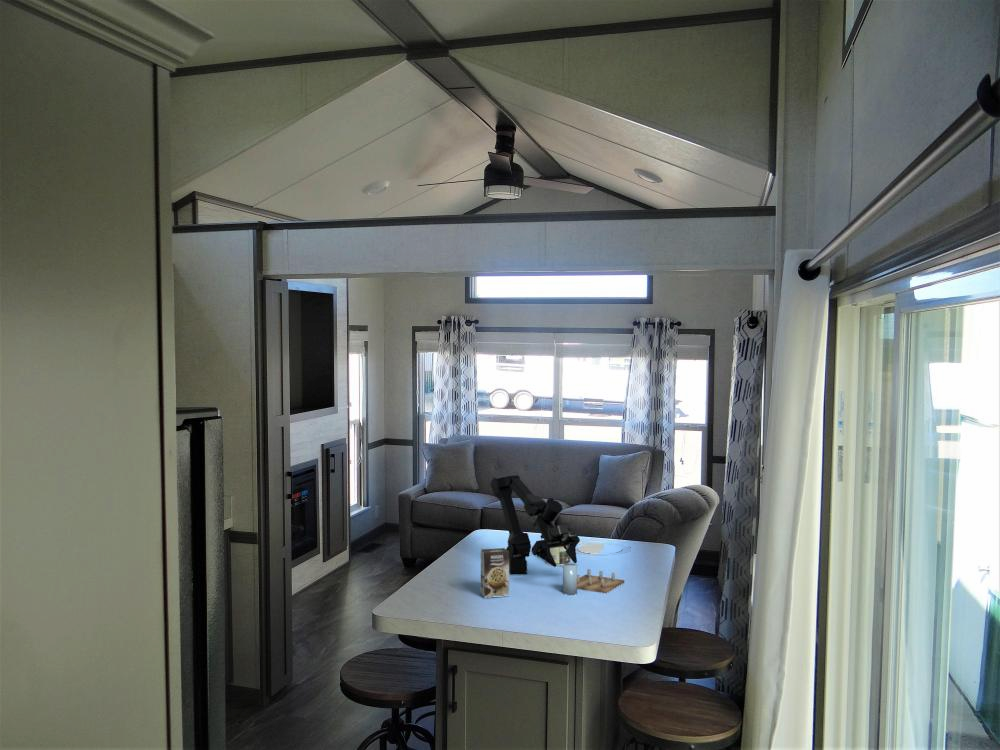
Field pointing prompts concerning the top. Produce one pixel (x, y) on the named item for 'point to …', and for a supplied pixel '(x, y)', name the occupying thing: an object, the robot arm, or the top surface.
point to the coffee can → (560, 554)
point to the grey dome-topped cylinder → (570, 579)
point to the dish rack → (597, 582)
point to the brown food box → (494, 572)
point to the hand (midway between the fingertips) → (565, 564)
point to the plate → (591, 548)
